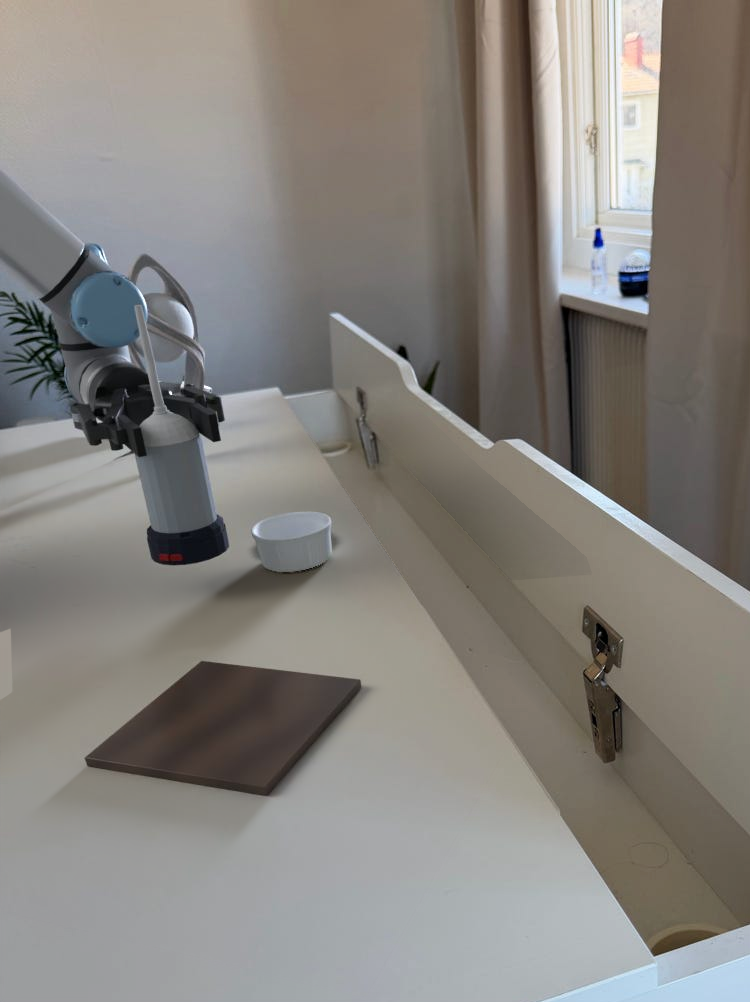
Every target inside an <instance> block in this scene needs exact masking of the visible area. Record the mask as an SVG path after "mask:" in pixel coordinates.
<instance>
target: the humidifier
mask: <svg viewBox="0 0 750 1002" xmlns="http://www.w3.org/2000/svg"><path fill="white" fill-rule="evenodd" d="M134 308H135V313H136V318H137V323H138V328H139V333H140V338H141V343H142V347H143V351H144V356H145V358H144V360H145V365H146V371H147V373H148V377H149V382H150V387H151V391H152V396H153V400H154V404H155V407H154V412H153V414H152V415H151V416H150V417H149V418H147V419H146V420H144V421H143V422H142V423H141V424H140V426H139V427H140V428H141V431H142V436H143V440H144V445H145V449H146V453H147V456H143V457H138V456H137V455H136V454H135V453H134V452H133V454H134V459H135V463H136V467H137V470H138V471H137V472H138V475H139V479H140V483H141V488H142V493H143V497H144V501H145V505H146V510H147V514H148V519H149V521H150V522H149V523H150V525H149V526H148V527H147V529H146V541H147V546H148V550H149V553H150V559H151V560H152V561H153V562H154V563H156V564H159V565H163V566H187V565H188V566H189V565H192V564H198V563H202V562H206V561H210V560H212V559H214V558H216V557H219V556H221V555H222V554H224V553H225V552H227V551H228V549H229V548H230V541H229V537H228V532H227V527H226V523H225V521H224V517H222V516H221V515H220V514H218V513H217V510H216V507H215V506H216V504H215V500H214V495H213V489H212V485H211V480H210V479H211V478H210V474H209V469H208V464H207V460H206V455H205V454H206V453H205V448H204V444H203V439H202V436H201V434H200V433H199V430H198V429H197V428H196V426H195V425H194V424H193V423H191V422H190V421H189V420H187V419H186V418H184V417H182V416H180V415H177V414H174V413H172V412H170V411H169V410H167V407H166V406H165V405H164V401H163V397H162V393H161V389H160V385H159V381H160V380H159V376H158V370H157V365H156V362H155V360H154V355H153V352H152V348H151V344H150V339H149V335H148V331H147V326H146V322H145V318H144V313H143V309H142V305H135V306H134Z"/></svg>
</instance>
